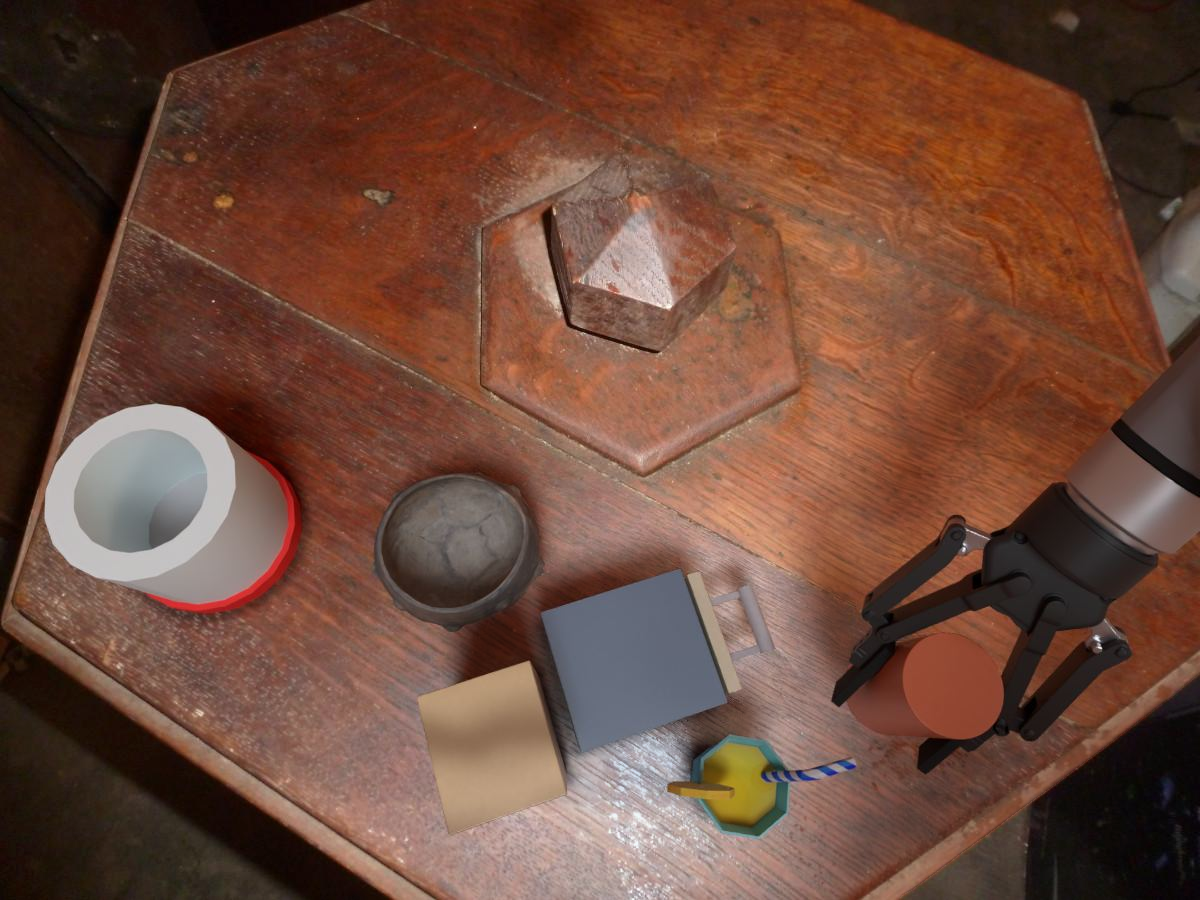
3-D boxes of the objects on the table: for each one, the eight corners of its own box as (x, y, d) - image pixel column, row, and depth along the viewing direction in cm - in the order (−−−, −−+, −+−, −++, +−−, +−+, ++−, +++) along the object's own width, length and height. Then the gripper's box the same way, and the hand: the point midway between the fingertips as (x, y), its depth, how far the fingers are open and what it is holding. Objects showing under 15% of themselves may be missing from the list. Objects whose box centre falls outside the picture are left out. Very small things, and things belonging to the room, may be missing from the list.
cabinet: (666, 586, 76) (680, 567, 67) (707, 704, 72) (728, 702, 63) (543, 625, 74) (540, 612, 65) (579, 748, 71) (581, 753, 61)
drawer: (731, 570, 76) (749, 554, 68) (770, 676, 72) (794, 671, 65) (573, 621, 73) (574, 610, 66) (606, 732, 70) (611, 733, 63)
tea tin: (941, 718, 64) (1022, 719, 52) (864, 747, 63) (930, 754, 51) (904, 635, 66) (974, 619, 54) (829, 662, 65) (885, 651, 53)
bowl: (565, 592, 75) (565, 574, 66) (416, 663, 72) (393, 655, 63) (507, 468, 79) (499, 434, 70) (363, 531, 76) (335, 505, 67)
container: (147, 455, 78) (57, 398, 64) (309, 452, 79) (254, 395, 65) (120, 616, 73) (15, 592, 59) (293, 611, 73) (230, 587, 60)
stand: (566, 774, 70) (567, 794, 51) (480, 804, 69) (448, 836, 50) (538, 675, 72) (529, 659, 54) (455, 702, 71) (416, 696, 52)
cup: (787, 711, 72) (841, 709, 58) (813, 799, 70) (877, 819, 56) (643, 749, 71) (663, 756, 57) (665, 840, 68) (692, 871, 54)
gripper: (1238, 588, 50) (990, 781, 61) (973, 409, 54) (782, 621, 65) (1279, 647, 44) (993, 851, 55) (974, 439, 47) (762, 669, 58)
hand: (879, 726), depth 60 cm, fingers closed on tea tin, 7 cm apart
